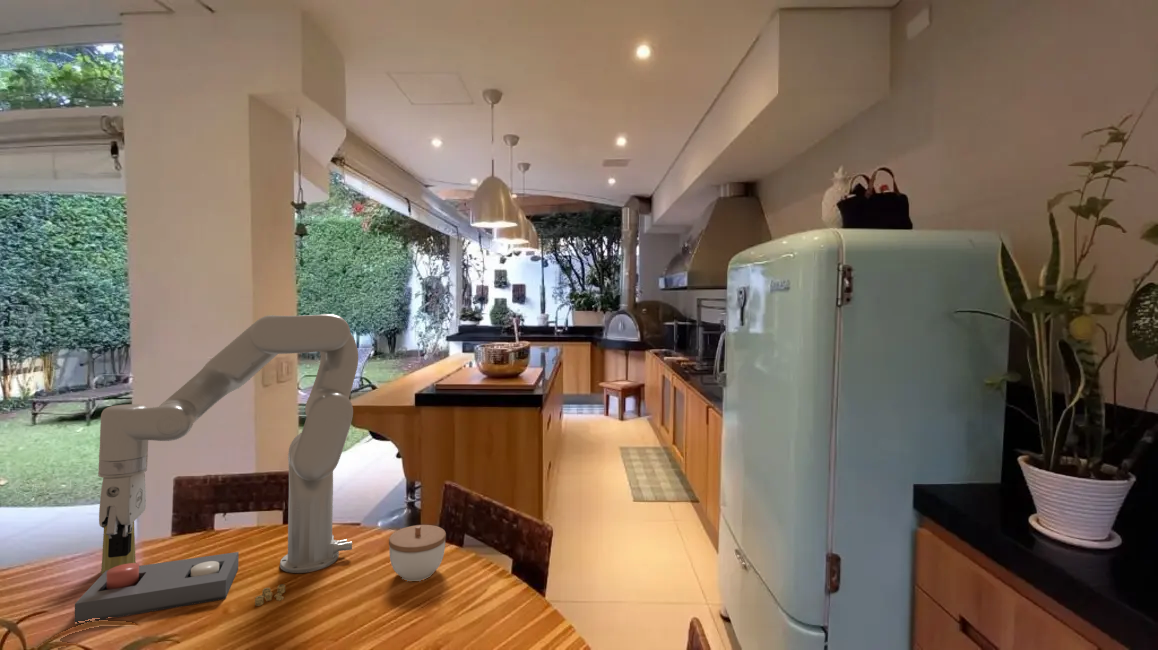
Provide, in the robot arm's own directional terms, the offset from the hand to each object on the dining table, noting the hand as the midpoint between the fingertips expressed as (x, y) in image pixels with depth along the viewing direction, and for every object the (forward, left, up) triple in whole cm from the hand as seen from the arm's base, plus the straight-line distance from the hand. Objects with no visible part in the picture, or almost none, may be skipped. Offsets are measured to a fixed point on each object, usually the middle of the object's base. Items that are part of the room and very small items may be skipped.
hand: (119, 554), depth 106 cm
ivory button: (-15, 0, -8) cm, 17 cm away
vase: (+5, -17, -10) cm, 20 cm away
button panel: (-8, 0, -10) cm, 12 cm away
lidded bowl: (-58, +11, -10) cm, 59 cm away
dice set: (-28, +10, -11) cm, 32 cm away
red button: (-1, 0, -6) cm, 6 cm away
